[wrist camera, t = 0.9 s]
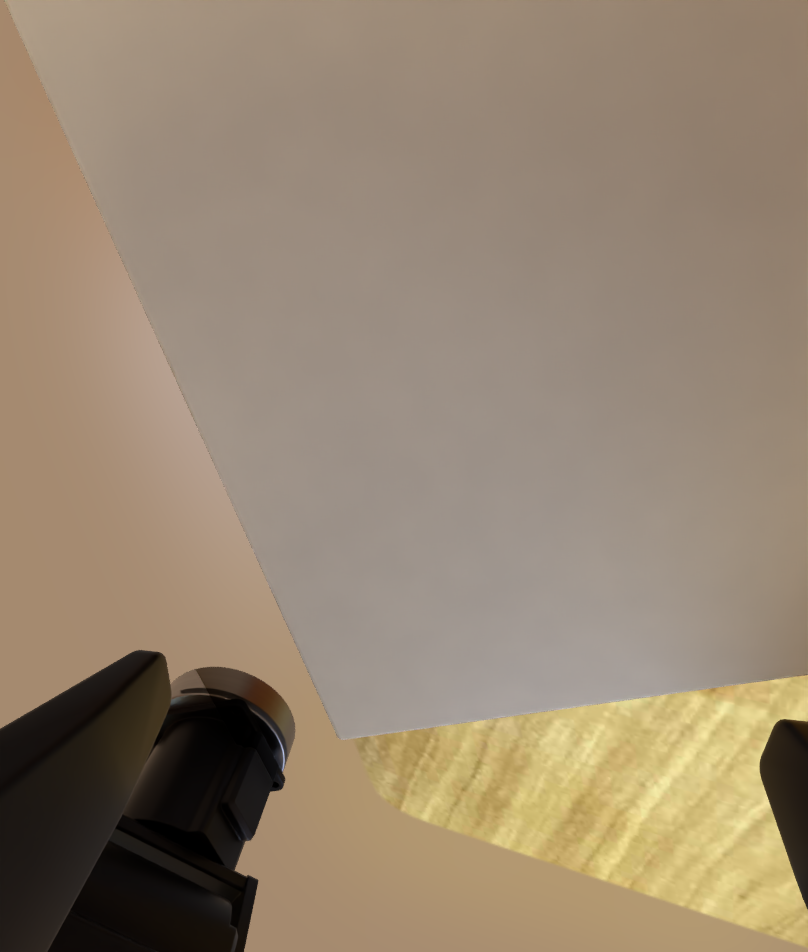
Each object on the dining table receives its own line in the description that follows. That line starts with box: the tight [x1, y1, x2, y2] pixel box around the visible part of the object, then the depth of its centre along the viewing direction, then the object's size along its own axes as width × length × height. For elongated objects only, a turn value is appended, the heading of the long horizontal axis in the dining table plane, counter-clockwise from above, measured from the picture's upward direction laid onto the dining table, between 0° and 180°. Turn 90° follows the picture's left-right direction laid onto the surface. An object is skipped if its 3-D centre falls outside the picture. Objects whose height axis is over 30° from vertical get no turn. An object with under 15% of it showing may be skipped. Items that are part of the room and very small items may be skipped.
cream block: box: [4, 0, 808, 740], centre depth 7 cm, size 6×10×2 cm, turn 17°
